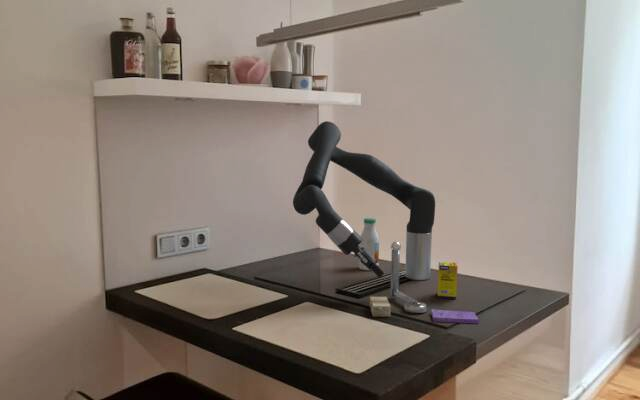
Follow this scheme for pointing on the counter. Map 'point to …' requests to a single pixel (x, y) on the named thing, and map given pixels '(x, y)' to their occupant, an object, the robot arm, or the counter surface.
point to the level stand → (380, 306)
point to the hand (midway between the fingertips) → (381, 274)
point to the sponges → (454, 316)
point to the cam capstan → (411, 303)
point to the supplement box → (447, 280)
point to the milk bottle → (370, 241)
